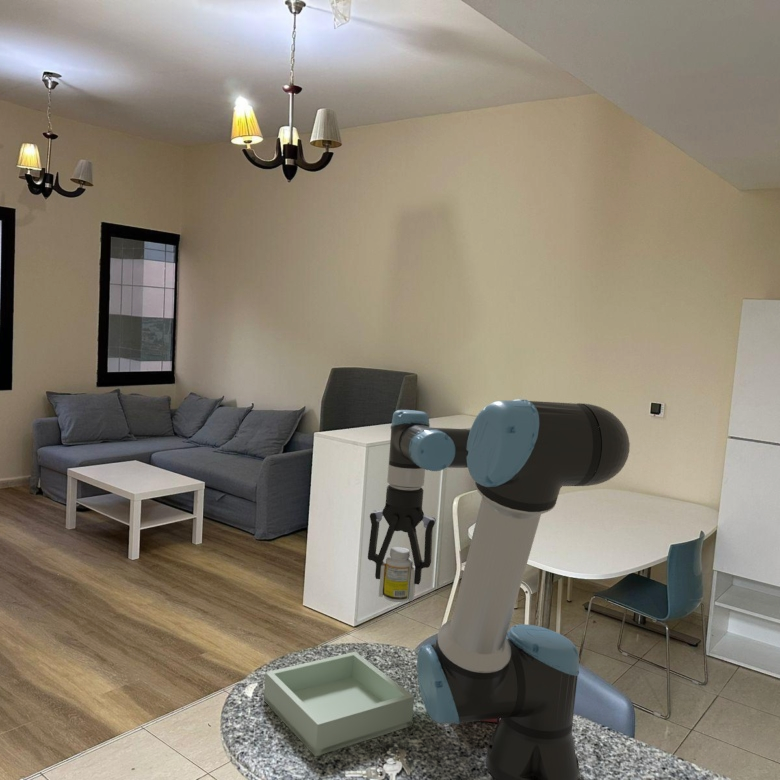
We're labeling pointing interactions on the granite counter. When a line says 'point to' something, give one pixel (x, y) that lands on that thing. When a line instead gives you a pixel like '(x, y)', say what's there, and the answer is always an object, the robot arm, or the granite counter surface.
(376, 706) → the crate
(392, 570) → the supplement bottle
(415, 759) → the granite counter surface
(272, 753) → the granite counter surface
